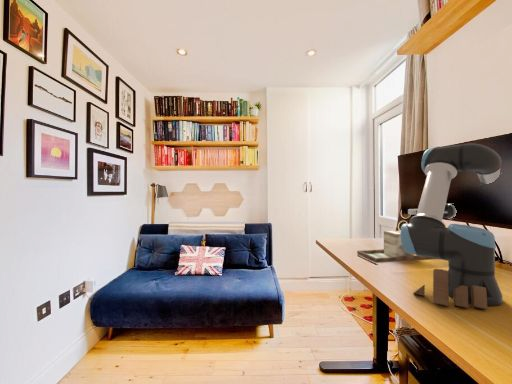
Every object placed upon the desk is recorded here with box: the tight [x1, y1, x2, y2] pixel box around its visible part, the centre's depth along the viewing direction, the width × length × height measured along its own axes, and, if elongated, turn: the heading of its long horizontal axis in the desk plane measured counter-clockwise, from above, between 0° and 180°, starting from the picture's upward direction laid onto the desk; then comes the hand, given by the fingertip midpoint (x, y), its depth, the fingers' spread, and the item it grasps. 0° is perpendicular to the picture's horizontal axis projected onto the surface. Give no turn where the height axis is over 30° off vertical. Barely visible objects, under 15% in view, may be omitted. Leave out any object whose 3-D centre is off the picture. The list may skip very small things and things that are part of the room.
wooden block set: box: [413, 268, 488, 310], centre depth 76 cm, size 18×9×10 cm, turn 58°
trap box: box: [356, 248, 431, 266], centre depth 126 cm, size 44×15×3 cm, turn 100°
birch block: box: [383, 230, 415, 257], centre depth 125 cm, size 10×9×12 cm
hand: (409, 211), depth 126 cm, fingers closed
